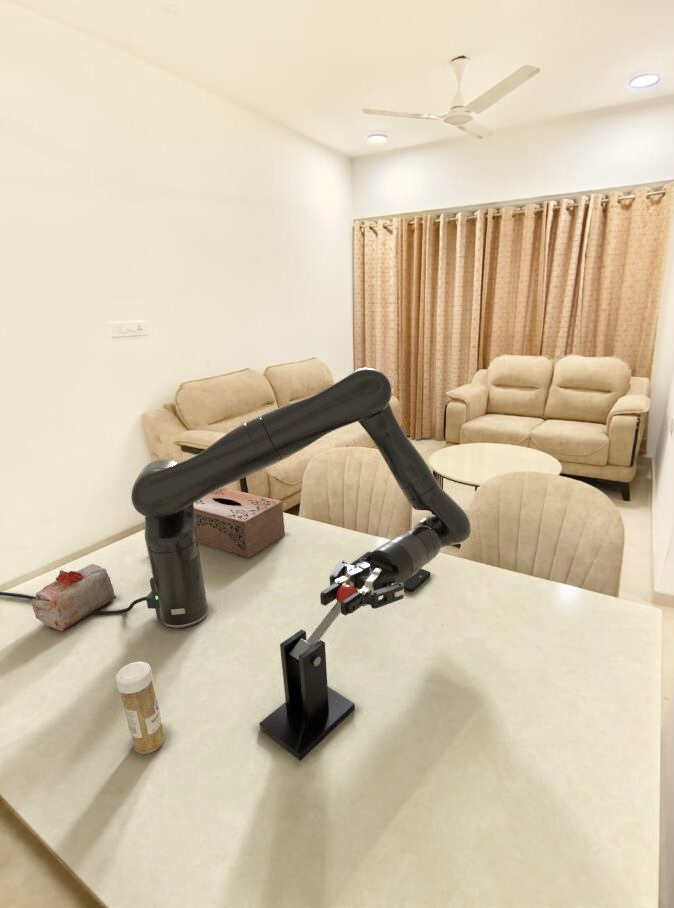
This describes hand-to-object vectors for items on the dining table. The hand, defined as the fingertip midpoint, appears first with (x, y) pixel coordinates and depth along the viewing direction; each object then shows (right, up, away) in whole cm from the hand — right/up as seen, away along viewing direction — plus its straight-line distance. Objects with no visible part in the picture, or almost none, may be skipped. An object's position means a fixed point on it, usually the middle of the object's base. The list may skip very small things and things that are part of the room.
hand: (332, 604), depth 77 cm
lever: (0, -4, +1) cm, 4 cm away
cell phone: (+10, -3, +42) cm, 43 cm away
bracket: (-4, -19, +2) cm, 19 cm away
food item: (-56, -9, +28) cm, 63 cm away
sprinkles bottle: (-27, -20, -2) cm, 34 cm away
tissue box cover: (-33, +4, +61) cm, 69 cm away
